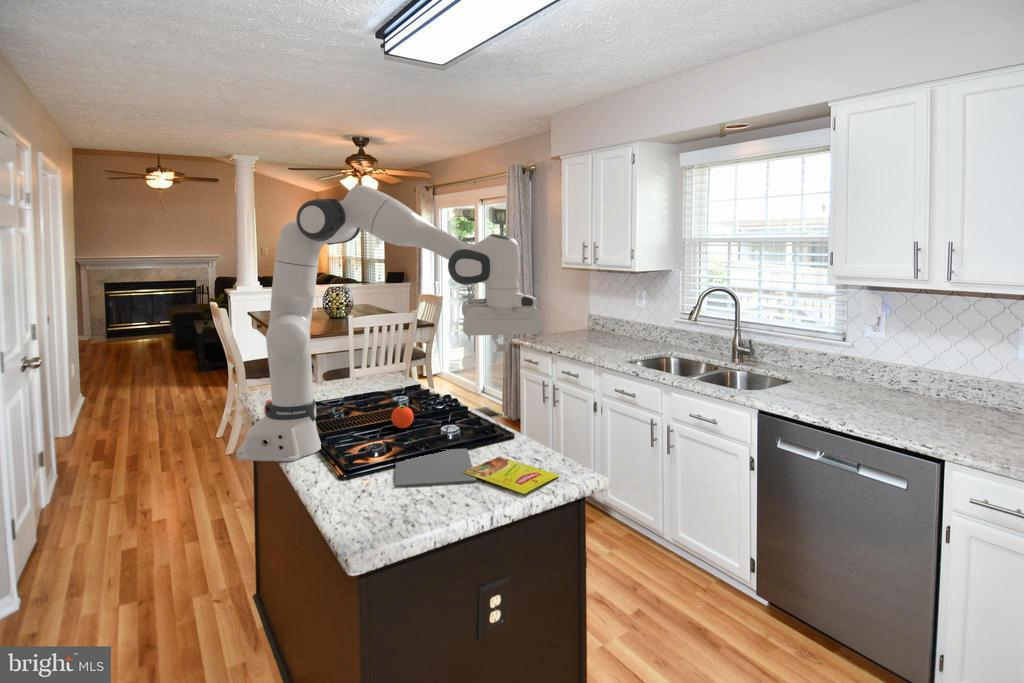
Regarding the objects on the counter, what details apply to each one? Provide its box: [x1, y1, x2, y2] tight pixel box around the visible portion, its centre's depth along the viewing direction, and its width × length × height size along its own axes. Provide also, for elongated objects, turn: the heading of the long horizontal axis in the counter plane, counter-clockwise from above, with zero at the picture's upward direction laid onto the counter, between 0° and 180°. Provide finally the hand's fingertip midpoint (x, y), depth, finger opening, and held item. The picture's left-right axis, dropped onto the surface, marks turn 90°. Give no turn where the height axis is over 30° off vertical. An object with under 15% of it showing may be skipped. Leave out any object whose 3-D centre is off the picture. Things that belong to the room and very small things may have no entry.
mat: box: [394, 448, 477, 488], centre depth 165 cm, size 20×22×1 cm
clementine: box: [390, 405, 415, 429], centre depth 196 cm, size 8×7×7 cm
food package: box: [463, 456, 561, 494], centre depth 160 cm, size 15×1×20 cm
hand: (501, 351), depth 162 cm, fingers closed
